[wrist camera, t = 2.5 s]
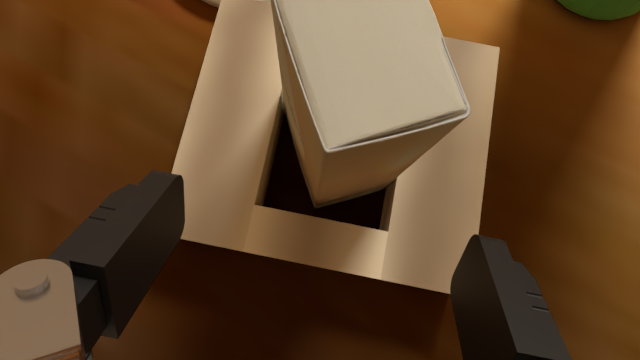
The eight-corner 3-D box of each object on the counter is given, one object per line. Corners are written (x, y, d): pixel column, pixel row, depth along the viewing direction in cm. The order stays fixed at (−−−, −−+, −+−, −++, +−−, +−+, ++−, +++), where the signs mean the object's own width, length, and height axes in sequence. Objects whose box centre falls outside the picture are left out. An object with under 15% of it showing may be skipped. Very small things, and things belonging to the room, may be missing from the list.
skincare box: (283, 110, 23) (255, -52, 12) (353, 91, 24) (399, -85, 12) (314, 216, 22) (321, 157, 10) (389, 194, 23) (478, 112, 11)
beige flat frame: (476, 73, 24) (499, 47, 21) (449, 293, 21) (471, 298, 19) (233, 26, 24) (223, -6, 22) (175, 237, 22) (154, 233, 19)
